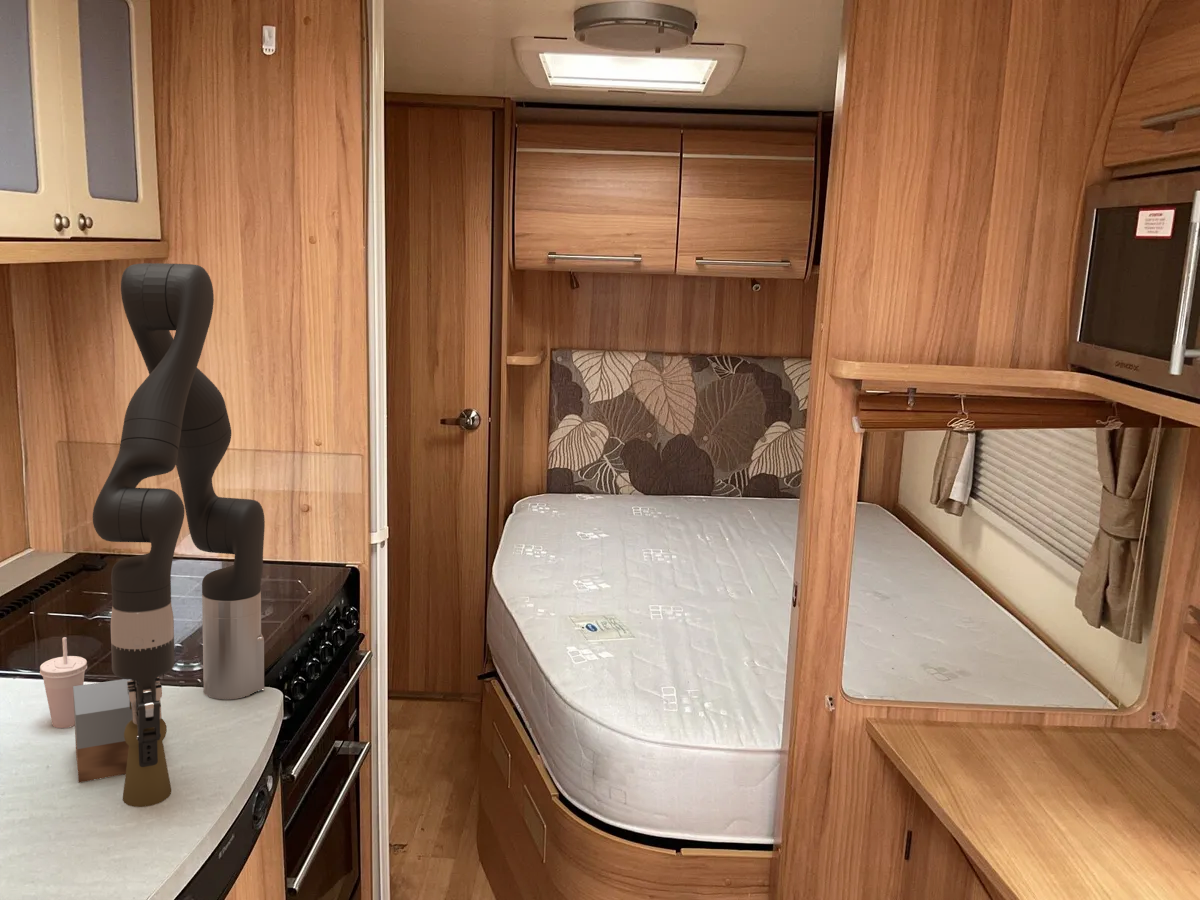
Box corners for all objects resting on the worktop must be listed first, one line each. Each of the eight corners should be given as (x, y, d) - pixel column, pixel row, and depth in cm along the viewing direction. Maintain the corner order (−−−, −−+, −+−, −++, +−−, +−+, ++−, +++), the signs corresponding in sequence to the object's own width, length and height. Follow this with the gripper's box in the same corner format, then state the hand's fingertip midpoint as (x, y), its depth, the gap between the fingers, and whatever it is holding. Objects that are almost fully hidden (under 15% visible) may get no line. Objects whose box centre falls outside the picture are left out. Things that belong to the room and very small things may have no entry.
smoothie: (57, 736, 146) (52, 648, 143) (33, 724, 149) (29, 637, 147) (98, 721, 151) (94, 636, 149) (74, 709, 155) (71, 626, 152)
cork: (181, 790, 133) (180, 716, 131) (144, 811, 128) (142, 734, 126) (149, 778, 136) (147, 705, 134) (112, 799, 130) (109, 723, 128)
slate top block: (149, 706, 146) (148, 675, 146) (156, 735, 138) (156, 702, 137) (74, 718, 141) (73, 686, 141) (77, 749, 133) (75, 715, 132)
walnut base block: (150, 737, 147) (149, 706, 146) (157, 768, 139) (156, 735, 138) (75, 750, 142) (74, 718, 141) (78, 782, 134) (77, 749, 133)
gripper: (180, 651, 124) (183, 774, 127) (167, 614, 136) (170, 727, 139) (115, 660, 120) (119, 786, 123) (107, 621, 132) (111, 737, 135)
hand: (146, 754), depth 131 cm, fingers closed on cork, 5 cm apart
